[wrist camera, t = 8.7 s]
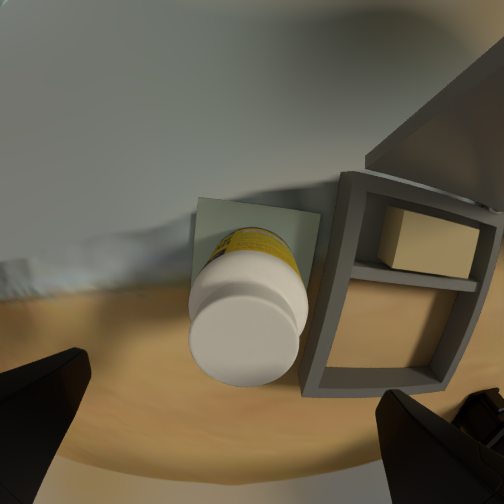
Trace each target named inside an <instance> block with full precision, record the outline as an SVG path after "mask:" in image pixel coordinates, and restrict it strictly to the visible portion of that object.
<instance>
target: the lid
mask: <svg viewBox="0 0 504 504" xmlns="http://www.w3.org/2000/svg"><path fill="white" fill-rule="evenodd" d="M365 169H368V170H372V171H376V172H380V173H384V174H388V175H392V176H396V177H399V178H403V179H407V180H410V181H414V182H417V183H421V184H424V185H427V186H431V187H434V188H437V189H440V190H443V191H447V192H450V193H453V194H456V195H459V196H461V197H464V198H467V199H470V200H473V201H475V202H478V203H481V204H483V205H486V206H489V207H491V208H494V209H496V210H499V211H501V212H504V37H503V38H502V39H500V40H499V41H498V42H497V43H496V44H495V45H494V46H492V47H491V48H490V49H489V50H488V51H487V52H485V54H483V55H482V56H481V57H480V58H478V59H477V60H476V61H475V62H474V63H473V64H472V65H470V66H469V67H468V68H467V69H466V70H465V71H463V72H462V73H461V74H460V75H459V76H458V77H456V79H454V80H453V81H452V82H451V83H449V84H448V85H447V86H446V87H445V88H444V89H443V90H441V91H440V92H439V93H438V94H437V95H436V96H434V97H433V98H432V99H431V100H430V101H429V102H427V103H426V104H425V105H424V106H423V107H422V108H420V109H419V110H418V111H417V112H416V113H415V114H414V115H413V116H411V117H410V118H409V119H408V120H407V121H405V122H404V123H403V124H402V125H401V126H400V127H398V128H397V129H396V130H395V131H394V132H393V133H392V134H390V135H389V136H388V137H387V138H386V139H385V140H383V141H382V142H381V143H380V144H379V145H378V146H376V147H375V148H374V149H373V150H372V151H371V152H369V153H368V154H367V155H366V156H365Z"/></svg>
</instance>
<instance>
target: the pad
mask: <svg viewBox="0 0 504 504" xmlns="http://www.w3.org/2000/svg"><path fill="white" fill-rule="evenodd" d="M320 217H321V214H319V213H313V212H307V211H300V210H294V209H287V208H280V207H273V206H266V205H259V204H251V203H243V202H236V201H227V200H219V199H210V198H201V197H199V198H198V205H197V215H196V225H195V236H194V248H193V261H192V275H191V289H192V286H193V284H194V282H195V280H196V277H197V276H198V274H199V273H200V271H201V270H202V268H203V267H204V265H205V264H206V262H207V261H208V259H209V258H210V256H211V255H212V253H213V252H214V250H215V248H216V247H217V245H218V244H219V243H220V241H221V240H222V239H223V238H224V237H226V236H227V235H228V234H229V233H231V232H233V231H235V230H237V229H240V228H243V227H262V228H266V229H269V230H271V231H273V232H275V233H276V234H278V235H279V236H280V237H281V238H282V239H283V240H284V241H285V242H286V243H287V245H288V246H289V248H290V250H291V252H292V254H293V256H294V259H295V262H296V265H297V268H298V270H299V273H300V276H301V279H302V281H303V284H304V287H305V290H306V292H307V287H308V282H309V277H310V272H311V267H312V262H313V257H314V251H315V246H316V240H317V235H318V229H319V223H320ZM190 292H191V291H190Z"/></svg>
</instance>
